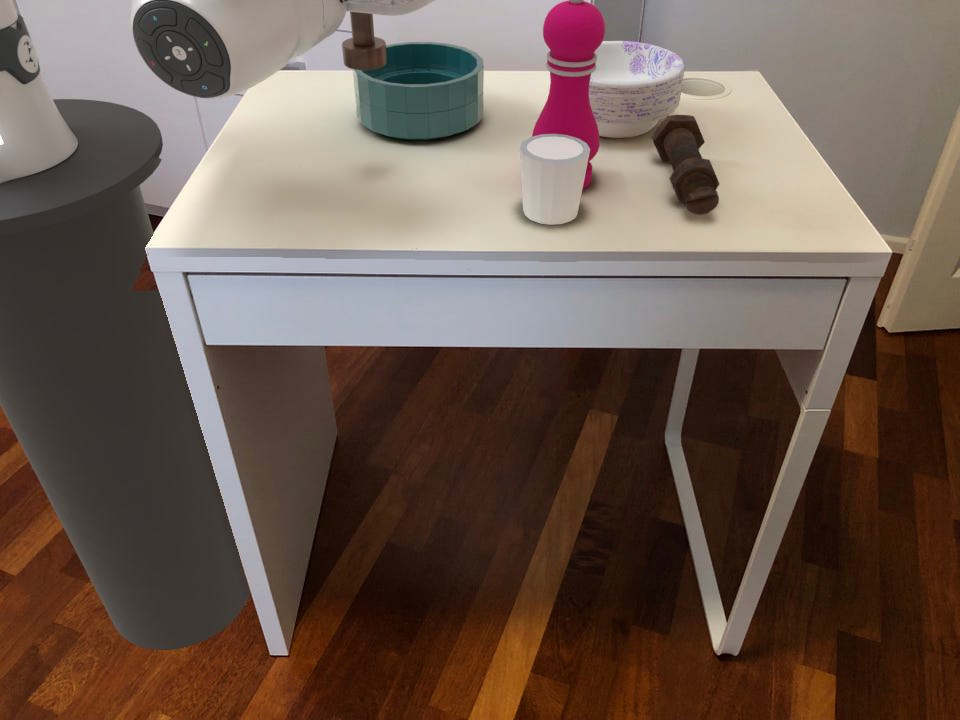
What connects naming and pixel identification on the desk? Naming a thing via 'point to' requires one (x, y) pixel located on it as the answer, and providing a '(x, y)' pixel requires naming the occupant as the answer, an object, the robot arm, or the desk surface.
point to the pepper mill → (571, 73)
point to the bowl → (421, 91)
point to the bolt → (687, 163)
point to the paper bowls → (633, 87)
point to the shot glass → (552, 177)
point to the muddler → (363, 45)
